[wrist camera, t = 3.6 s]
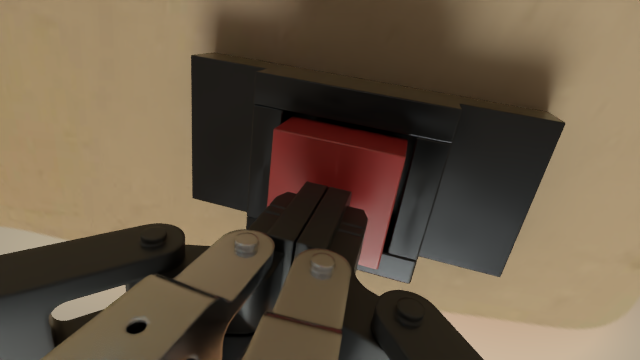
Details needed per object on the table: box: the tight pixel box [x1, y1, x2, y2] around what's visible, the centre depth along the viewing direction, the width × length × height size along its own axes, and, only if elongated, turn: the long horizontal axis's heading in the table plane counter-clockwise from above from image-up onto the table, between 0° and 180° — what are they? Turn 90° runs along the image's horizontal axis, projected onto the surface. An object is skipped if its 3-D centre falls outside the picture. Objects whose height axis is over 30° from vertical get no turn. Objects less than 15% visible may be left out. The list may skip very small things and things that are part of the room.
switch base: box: [191, 53, 565, 283], centre depth 16 cm, size 15×7×4 cm, turn 82°
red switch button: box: [267, 116, 408, 269], centre depth 13 cm, size 4×4×2 cm
